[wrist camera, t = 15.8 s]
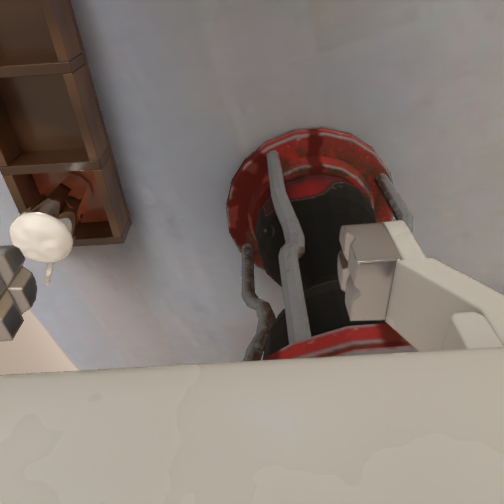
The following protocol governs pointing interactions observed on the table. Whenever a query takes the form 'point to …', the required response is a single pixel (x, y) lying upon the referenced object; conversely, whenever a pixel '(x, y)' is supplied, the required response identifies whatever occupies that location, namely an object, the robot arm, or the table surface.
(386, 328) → the hourglass
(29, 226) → the milkshake
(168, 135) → the table surface
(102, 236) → the compartment tray
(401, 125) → the table surface
